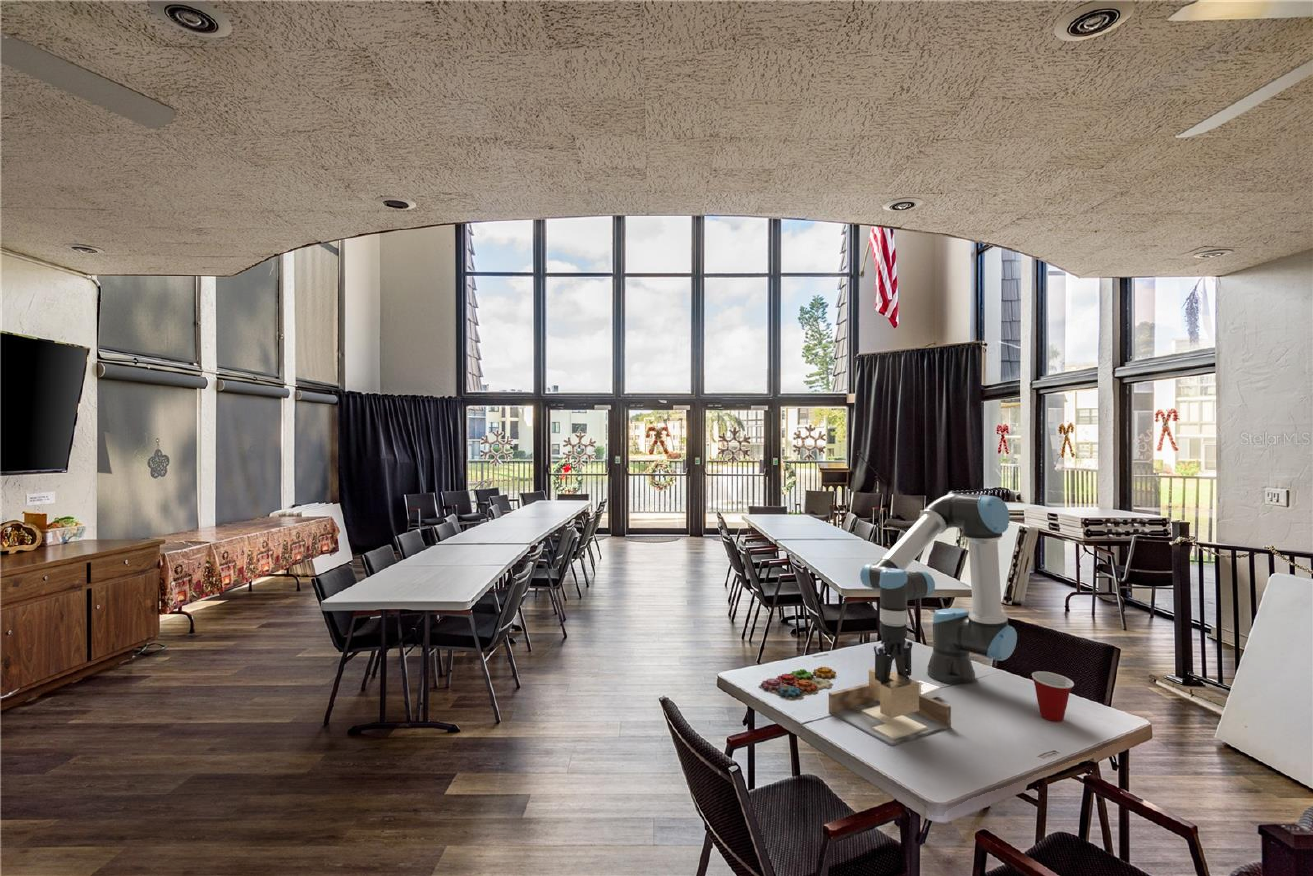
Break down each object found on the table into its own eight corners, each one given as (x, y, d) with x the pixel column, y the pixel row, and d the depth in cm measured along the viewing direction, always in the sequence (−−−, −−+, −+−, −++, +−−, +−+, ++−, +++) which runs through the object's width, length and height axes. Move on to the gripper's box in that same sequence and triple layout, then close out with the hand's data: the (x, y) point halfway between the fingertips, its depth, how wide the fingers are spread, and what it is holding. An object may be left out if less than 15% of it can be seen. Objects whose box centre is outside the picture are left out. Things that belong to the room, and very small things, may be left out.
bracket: (916, 707, 200) (916, 683, 200) (896, 700, 206) (896, 676, 206) (940, 698, 207) (940, 674, 207) (920, 691, 213) (920, 668, 213)
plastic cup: (1063, 729, 184) (1063, 687, 184) (1024, 716, 193) (1024, 676, 193) (1081, 720, 190) (1081, 679, 190) (1042, 707, 199) (1042, 668, 199)
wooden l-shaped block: (919, 710, 184) (919, 682, 184) (891, 718, 179) (891, 689, 179) (880, 693, 196) (880, 667, 196) (854, 700, 191) (854, 673, 191)
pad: (880, 707, 198) (880, 705, 198) (927, 729, 183) (927, 727, 183) (846, 716, 192) (846, 714, 192) (892, 739, 177) (892, 737, 177)
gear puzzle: (815, 668, 235) (815, 657, 235) (853, 681, 222) (853, 669, 222) (756, 688, 216) (756, 676, 216) (793, 704, 203) (793, 691, 203)
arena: (885, 698, 207) (885, 679, 207) (950, 727, 186) (950, 706, 186) (828, 712, 196) (828, 692, 196) (891, 745, 174) (891, 723, 174)
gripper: (904, 615, 196) (904, 692, 196) (861, 623, 188) (860, 703, 188) (925, 622, 190) (925, 701, 190) (880, 630, 181) (880, 713, 181)
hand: (893, 702), depth 189 cm, fingers closed on wooden l-shaped block, 5 cm apart
